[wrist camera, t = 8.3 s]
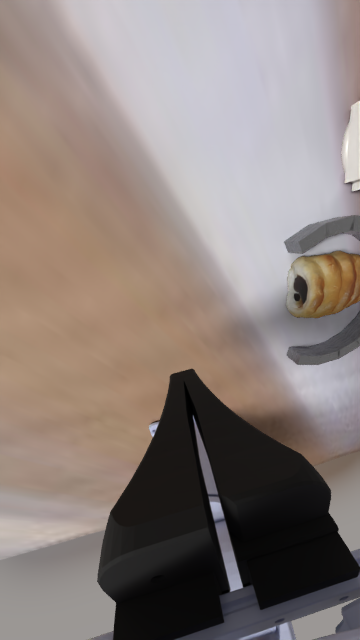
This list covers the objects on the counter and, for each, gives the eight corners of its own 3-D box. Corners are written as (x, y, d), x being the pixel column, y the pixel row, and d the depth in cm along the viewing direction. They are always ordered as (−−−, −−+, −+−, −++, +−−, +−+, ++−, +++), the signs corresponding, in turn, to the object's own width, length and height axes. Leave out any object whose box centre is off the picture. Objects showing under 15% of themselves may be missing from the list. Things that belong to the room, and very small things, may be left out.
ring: (372, 335, 25) (389, 343, 23) (286, 361, 25) (297, 370, 23) (396, 201, 19) (422, 197, 17) (283, 231, 19) (298, 230, 17)
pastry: (368, 243, 21) (413, 244, 17) (354, 303, 23) (390, 314, 20) (285, 256, 20) (314, 260, 16) (280, 317, 23) (304, 331, 19)
